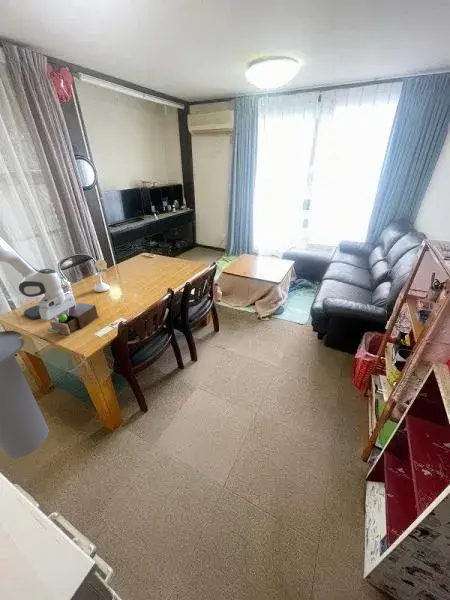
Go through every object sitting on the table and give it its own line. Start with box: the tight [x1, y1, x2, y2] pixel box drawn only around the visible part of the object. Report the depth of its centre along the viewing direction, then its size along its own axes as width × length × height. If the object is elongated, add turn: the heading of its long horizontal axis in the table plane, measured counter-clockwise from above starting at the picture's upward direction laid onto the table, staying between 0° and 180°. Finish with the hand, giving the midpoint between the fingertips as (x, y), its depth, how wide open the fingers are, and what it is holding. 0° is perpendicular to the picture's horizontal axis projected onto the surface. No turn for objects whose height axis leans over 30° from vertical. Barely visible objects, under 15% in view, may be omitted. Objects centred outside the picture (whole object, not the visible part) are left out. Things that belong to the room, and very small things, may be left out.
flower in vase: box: [93, 258, 110, 293], centre depth 194 cm, size 13×11×25 cm
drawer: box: [47, 316, 79, 336], centre depth 149 cm, size 18×11×7 cm, turn 164°
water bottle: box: [59, 275, 77, 305], centre depth 165 cm, size 7×7×25 cm
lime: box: [56, 314, 67, 322], centre depth 146 cm, size 5×5×5 cm
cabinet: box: [59, 302, 99, 330], centre depth 158 cm, size 15×13×9 cm
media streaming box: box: [23, 304, 42, 320], centre depth 167 cm, size 15×15×3 cm
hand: (62, 318), depth 146 cm, fingers closed on lime, 4 cm apart
